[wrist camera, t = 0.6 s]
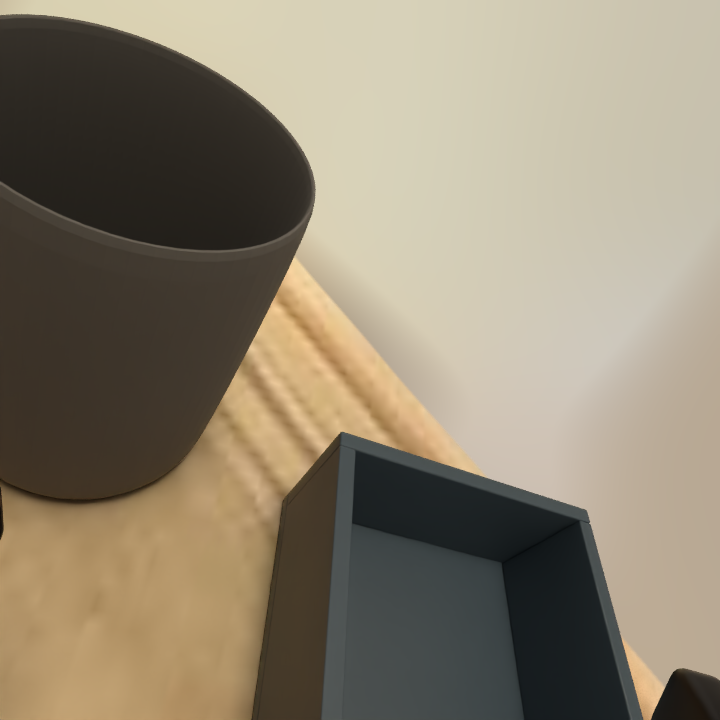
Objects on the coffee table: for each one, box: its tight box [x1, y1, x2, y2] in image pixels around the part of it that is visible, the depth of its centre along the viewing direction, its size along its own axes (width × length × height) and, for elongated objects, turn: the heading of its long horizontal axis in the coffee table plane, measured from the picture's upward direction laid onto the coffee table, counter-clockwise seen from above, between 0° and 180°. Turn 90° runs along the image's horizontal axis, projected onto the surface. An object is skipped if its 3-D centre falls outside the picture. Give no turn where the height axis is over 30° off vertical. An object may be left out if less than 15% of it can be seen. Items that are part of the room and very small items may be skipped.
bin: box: [252, 432, 643, 720], centre depth 19 cm, size 11×11×6 cm
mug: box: [0, 14, 315, 499], centre depth 16 cm, size 14×9×12 cm
